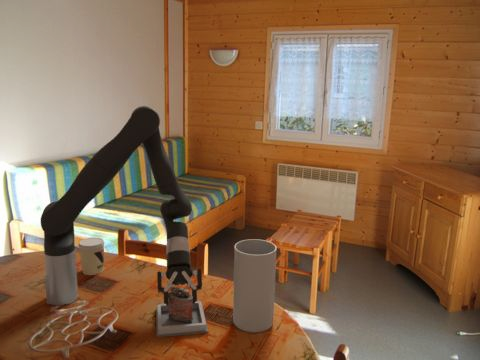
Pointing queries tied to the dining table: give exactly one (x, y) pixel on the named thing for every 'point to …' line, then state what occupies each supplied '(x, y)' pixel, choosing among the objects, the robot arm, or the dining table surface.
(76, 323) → the dining table surface
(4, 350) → the dining table surface
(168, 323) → the tray
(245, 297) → the cylinder vase
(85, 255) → the coffee cup
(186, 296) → the lighter
